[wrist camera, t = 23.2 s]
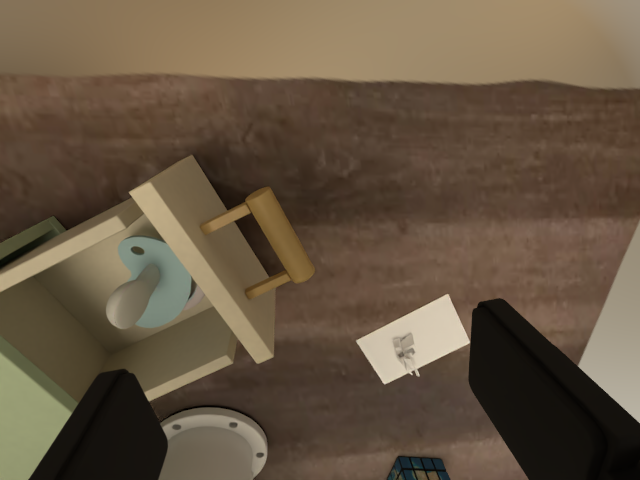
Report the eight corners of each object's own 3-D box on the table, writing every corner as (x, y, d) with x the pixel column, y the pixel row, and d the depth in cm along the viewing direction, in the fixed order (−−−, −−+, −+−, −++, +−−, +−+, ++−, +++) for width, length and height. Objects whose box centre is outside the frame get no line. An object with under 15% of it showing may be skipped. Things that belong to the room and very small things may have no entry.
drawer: (250, 124, 23) (234, 137, 15) (324, 264, 28) (340, 327, 20) (9, 248, 24) (-113, 315, 17) (120, 360, 29) (65, 451, 22)
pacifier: (212, 229, 25) (124, 221, 23) (195, 270, 19) (78, 262, 18) (209, 311, 27) (130, 308, 26) (194, 368, 22) (92, 367, 20)
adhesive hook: (386, 341, 33) (396, 364, 30) (409, 329, 33) (422, 351, 30) (398, 360, 34) (409, 384, 31) (421, 349, 34) (433, 372, 31)
